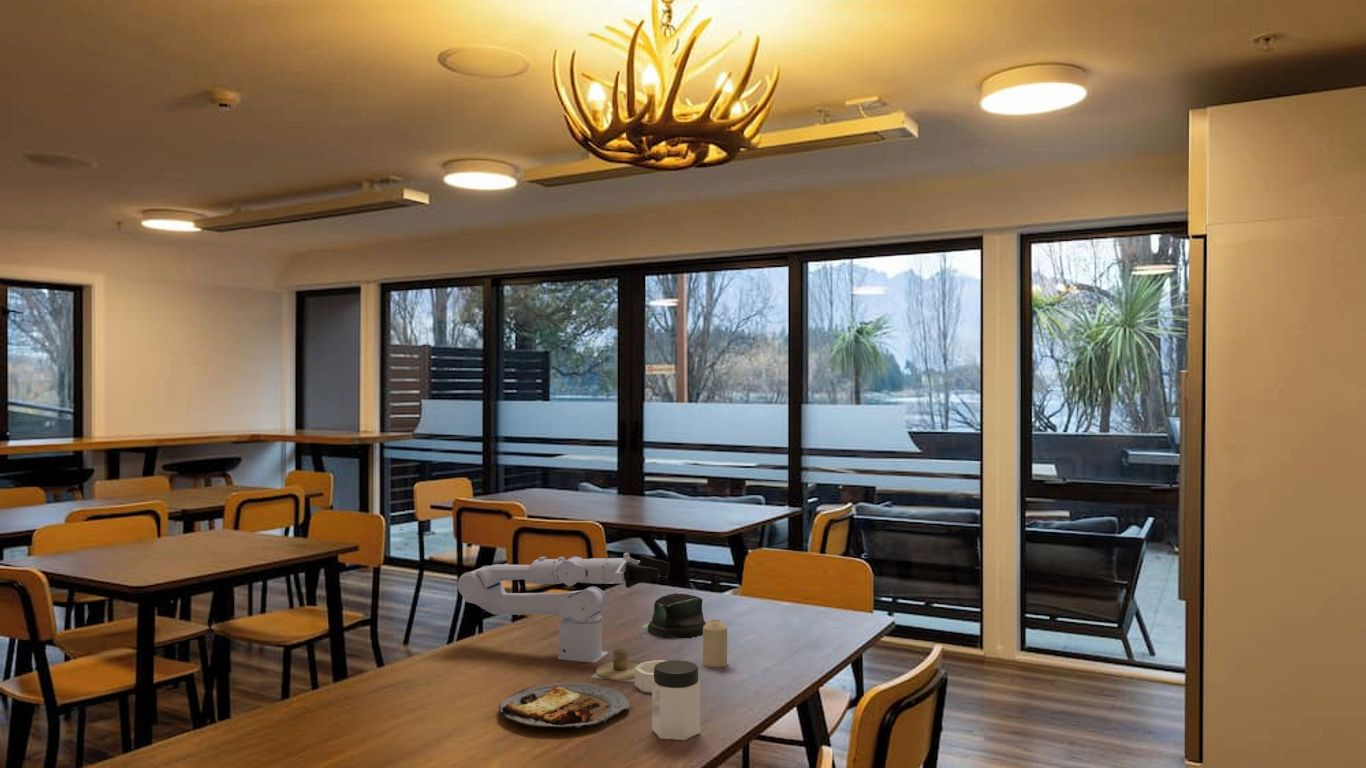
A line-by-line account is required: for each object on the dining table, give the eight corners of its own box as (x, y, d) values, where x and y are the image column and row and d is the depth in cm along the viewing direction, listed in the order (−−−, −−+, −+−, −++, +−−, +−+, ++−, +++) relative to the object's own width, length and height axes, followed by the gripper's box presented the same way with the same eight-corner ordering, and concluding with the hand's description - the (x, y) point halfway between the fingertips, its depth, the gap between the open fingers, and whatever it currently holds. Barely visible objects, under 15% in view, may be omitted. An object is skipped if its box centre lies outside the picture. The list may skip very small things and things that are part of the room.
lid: (588, 677, 200) (588, 655, 200) (607, 663, 210) (607, 642, 210) (633, 682, 197) (633, 659, 197) (650, 667, 207) (650, 646, 207)
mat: (590, 678, 200) (590, 677, 200) (607, 665, 210) (607, 663, 210) (633, 683, 197) (633, 681, 197) (649, 669, 207) (649, 667, 207)
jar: (674, 719, 176) (675, 656, 176) (708, 730, 171) (708, 665, 171) (642, 733, 169) (643, 667, 169) (676, 744, 164) (677, 677, 164)
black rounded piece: (679, 647, 226) (679, 609, 226) (622, 632, 239) (622, 596, 239) (731, 631, 240) (731, 595, 240) (675, 617, 254) (675, 583, 253)
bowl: (629, 691, 192) (629, 672, 192) (645, 676, 202) (645, 658, 202) (675, 696, 189) (675, 677, 189) (689, 681, 199) (689, 662, 199)
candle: (725, 669, 207) (725, 624, 207) (700, 667, 208) (700, 623, 208) (728, 662, 213) (728, 618, 213) (705, 660, 214) (705, 617, 214)
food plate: (569, 746, 163) (569, 725, 163) (473, 721, 176) (473, 702, 176) (648, 708, 185) (649, 690, 185) (558, 688, 197) (558, 671, 197)
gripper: (594, 559, 207) (651, 558, 203) (618, 547, 221) (672, 546, 217) (596, 591, 207) (654, 591, 203) (620, 577, 221) (674, 577, 217)
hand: (664, 570), depth 210 cm, fingers open, 7 cm apart
